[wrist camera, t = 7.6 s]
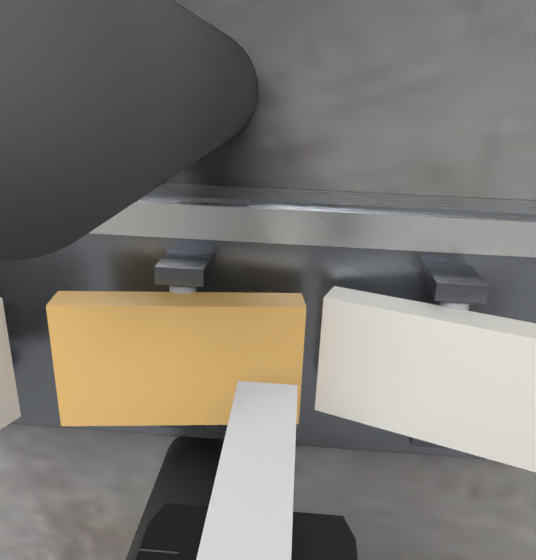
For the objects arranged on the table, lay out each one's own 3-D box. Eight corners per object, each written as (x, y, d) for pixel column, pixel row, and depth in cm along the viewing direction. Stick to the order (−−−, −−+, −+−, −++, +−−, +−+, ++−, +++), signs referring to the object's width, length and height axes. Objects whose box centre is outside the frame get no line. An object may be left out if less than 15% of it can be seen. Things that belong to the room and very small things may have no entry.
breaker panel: (-138, 168, 21) (-251, 188, 17) (573, 202, 19) (647, 234, 15) (-87, 381, 24) (-169, 442, 20) (518, 425, 23) (566, 501, 19)
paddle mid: (64, 277, 17) (44, 299, 16) (299, 279, 18) (307, 301, 16) (78, 398, 19) (61, 431, 17) (292, 396, 20) (298, 428, 18)
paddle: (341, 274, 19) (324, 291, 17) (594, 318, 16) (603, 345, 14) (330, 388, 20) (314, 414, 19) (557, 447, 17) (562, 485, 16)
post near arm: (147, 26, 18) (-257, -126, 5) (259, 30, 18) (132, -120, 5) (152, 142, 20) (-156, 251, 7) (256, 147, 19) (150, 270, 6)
